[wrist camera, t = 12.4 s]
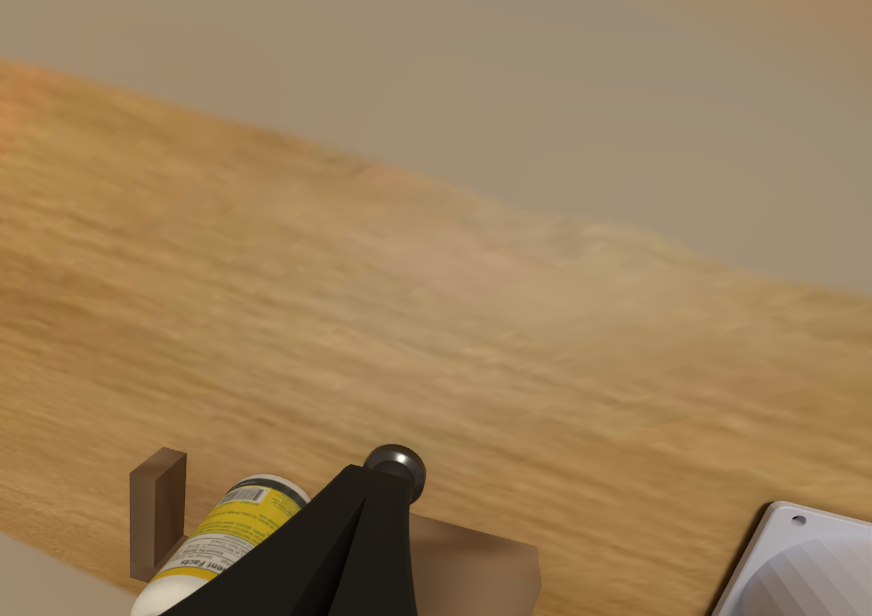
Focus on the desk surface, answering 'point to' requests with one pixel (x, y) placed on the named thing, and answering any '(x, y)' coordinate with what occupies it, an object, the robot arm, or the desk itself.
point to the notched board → (429, 546)
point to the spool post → (399, 465)
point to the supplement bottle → (222, 539)
